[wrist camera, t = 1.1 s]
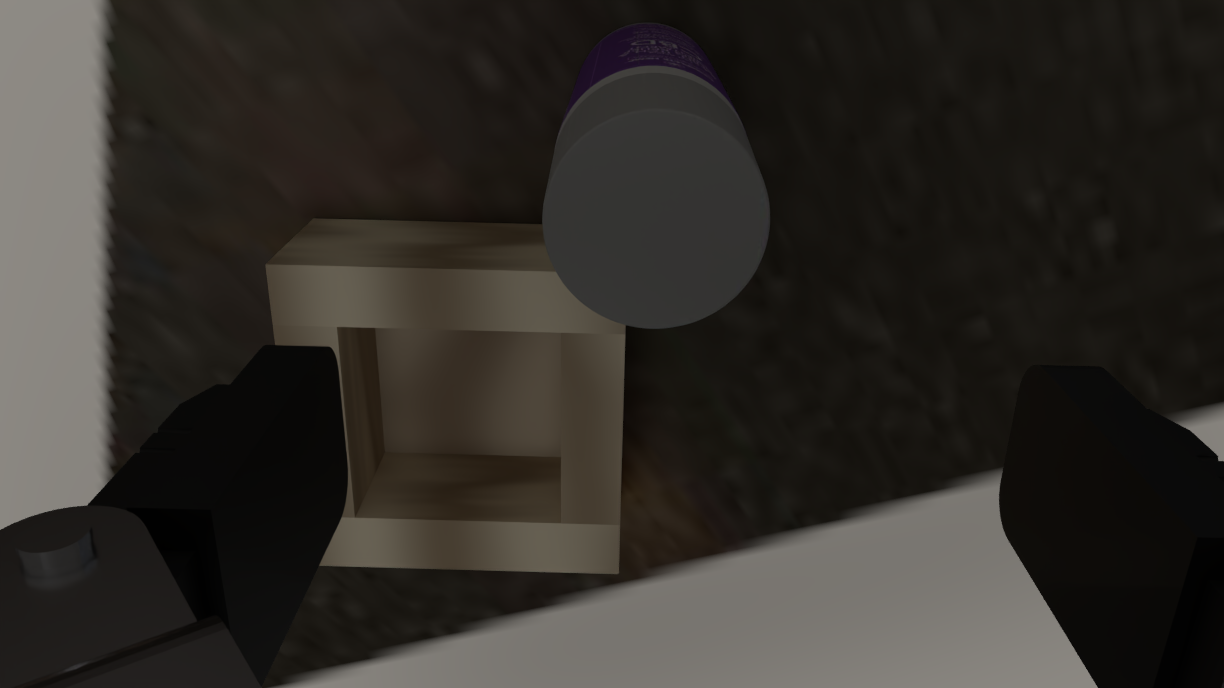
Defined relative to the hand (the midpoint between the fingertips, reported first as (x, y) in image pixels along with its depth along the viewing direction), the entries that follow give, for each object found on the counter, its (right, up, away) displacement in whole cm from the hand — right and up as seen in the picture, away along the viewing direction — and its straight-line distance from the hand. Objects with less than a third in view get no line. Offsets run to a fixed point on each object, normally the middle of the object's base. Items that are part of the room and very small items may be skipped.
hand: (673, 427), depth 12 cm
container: (0, +9, +22) cm, 24 cm away
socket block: (-6, 0, +25) cm, 26 cm away
